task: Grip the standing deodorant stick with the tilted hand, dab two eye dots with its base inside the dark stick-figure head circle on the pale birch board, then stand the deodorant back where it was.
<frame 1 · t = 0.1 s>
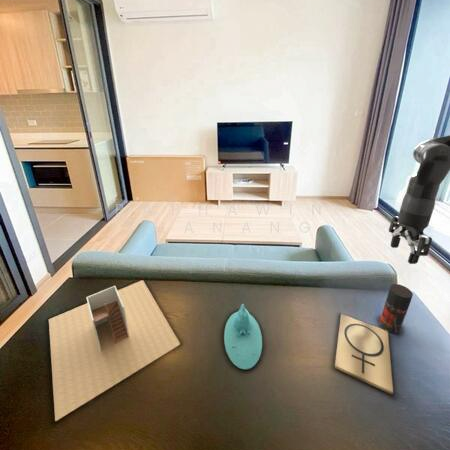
hand: (402, 254, 78), 25 cm above the table, tool pointing down, fingers open, 8 cm apart
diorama: (242, 337, 79), on the table
sketch board: (362, 349, 75), on the table
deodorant: (389, 325, 83), on the table
staircase: (111, 331, 80), on the table
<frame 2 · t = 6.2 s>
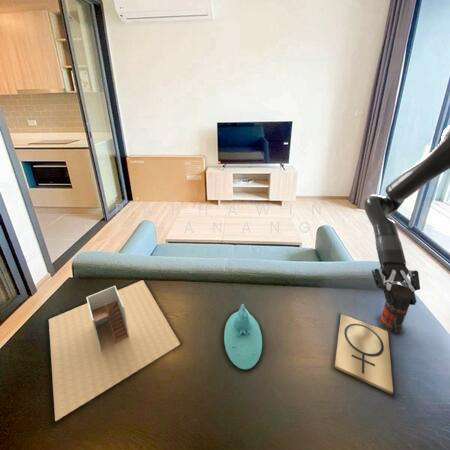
hand: (401, 303, 77), 11 cm above the table, tool tilted 45°, fingers closed on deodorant, 6 cm apart
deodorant: (389, 325, 83), on the table, touching gripper
everything else where it was.
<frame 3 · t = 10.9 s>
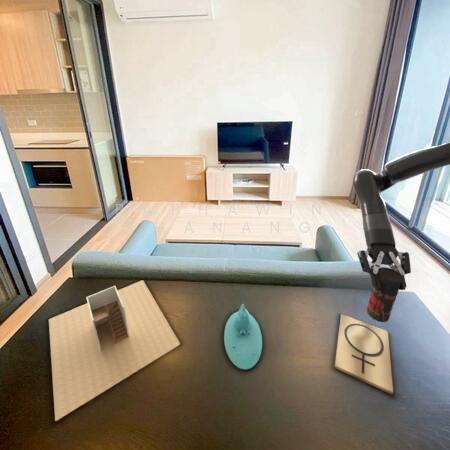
hand: (389, 289, 69), 22 cm above the table, tool tilted 45°, fingers closed on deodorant, 6 cm apart
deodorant: (377, 314, 74), point 11 cm above the table, touching gripper
everything else where it was.
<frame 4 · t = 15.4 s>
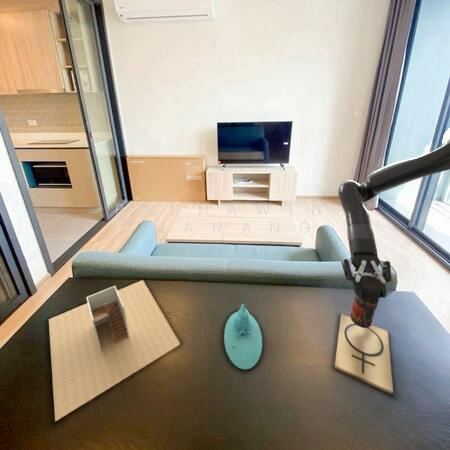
hand: (371, 296, 72), 18 cm above the table, tool tilted 45°, fingers closed on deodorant, 6 cm apart
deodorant: (360, 320, 77), point 6 cm above the table, touching gripper
everything else where it was.
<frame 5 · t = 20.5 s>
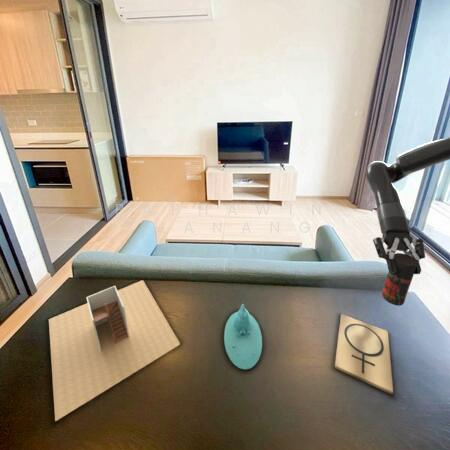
hand: (405, 273, 72), 24 cm above the table, tool tilted 45°, fingers closed on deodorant, 6 cm apart
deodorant: (392, 298, 78), point 12 cm above the table, touching gripper
everything else where it was.
when the fingers open (11 cm above the table, at t = 24.8 s): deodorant stays where it is, on the table.
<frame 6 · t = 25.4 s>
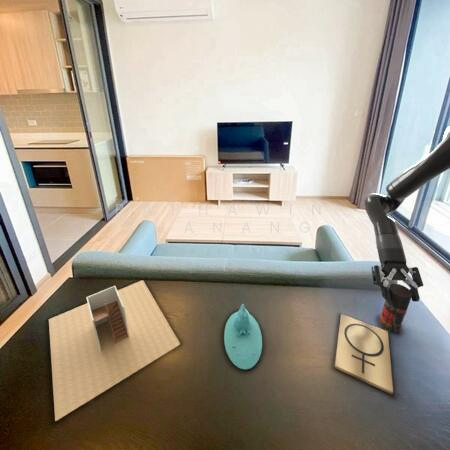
hand: (401, 300, 77), 12 cm above the table, tool tilted 45°, fingers open, 8 cm apart
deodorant: (389, 325, 83), on the table
everything else where it was.
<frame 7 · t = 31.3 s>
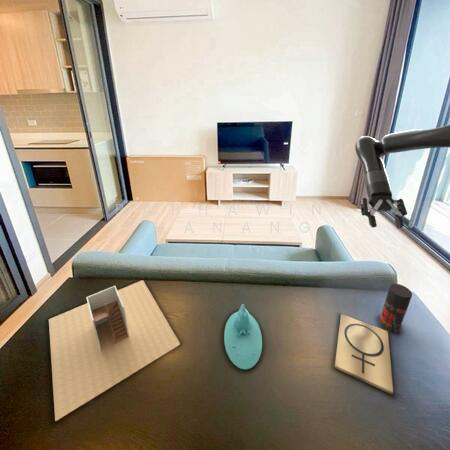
hand: (387, 227, 84), 31 cm above the table, tool tilted 45°, fingers open, 8 cm apart
nothing on the table moved.
at the end: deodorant inside the target area (0.1 cm from its centre), on the table; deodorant tilted 0°; the gripper is holding nothing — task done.
